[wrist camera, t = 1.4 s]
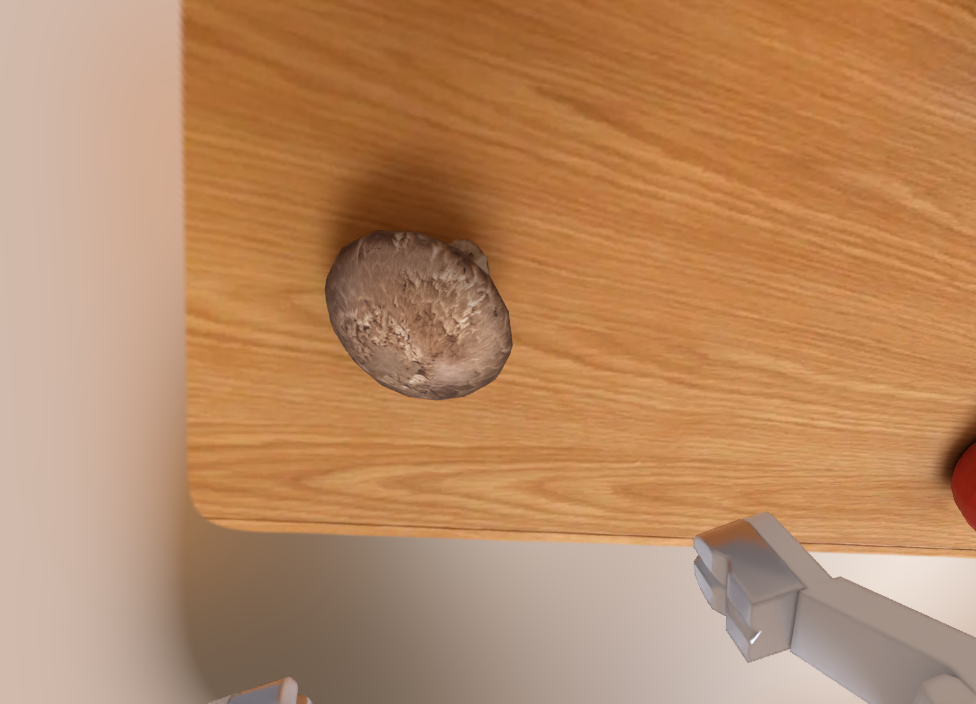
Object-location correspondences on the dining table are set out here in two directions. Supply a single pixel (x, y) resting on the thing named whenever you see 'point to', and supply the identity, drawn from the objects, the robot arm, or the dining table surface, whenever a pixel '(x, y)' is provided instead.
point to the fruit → (966, 485)
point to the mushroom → (419, 313)
